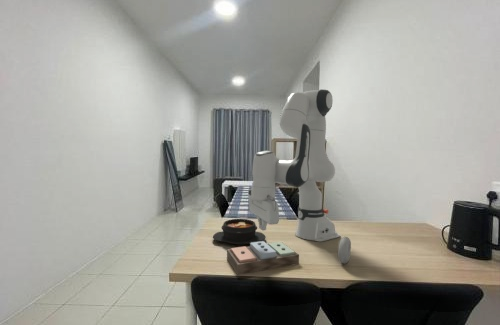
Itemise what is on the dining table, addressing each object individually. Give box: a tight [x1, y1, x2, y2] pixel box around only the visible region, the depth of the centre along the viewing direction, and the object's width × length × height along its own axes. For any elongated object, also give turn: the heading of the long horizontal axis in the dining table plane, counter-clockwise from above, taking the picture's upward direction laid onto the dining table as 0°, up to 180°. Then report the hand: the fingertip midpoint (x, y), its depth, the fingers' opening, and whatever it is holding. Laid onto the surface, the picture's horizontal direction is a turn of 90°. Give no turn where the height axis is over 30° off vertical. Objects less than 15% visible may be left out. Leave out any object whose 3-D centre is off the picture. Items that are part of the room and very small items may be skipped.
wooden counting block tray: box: [226, 241, 300, 275], centre depth 93 cm, size 24×13×4 cm, turn 111°
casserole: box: [212, 218, 266, 245], centre depth 114 cm, size 25×19×8 cm
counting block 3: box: [267, 241, 296, 257], centre depth 96 cm, size 6×11×4 cm, turn 21°
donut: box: [337, 236, 352, 265], centre depth 93 cm, size 10×4×10 cm, turn 148°
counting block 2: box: [249, 240, 276, 260], centre depth 93 cm, size 6×11×4 cm, turn 21°
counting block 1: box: [230, 246, 256, 263], centre depth 90 cm, size 6×11×4 cm, turn 21°
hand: (262, 229), depth 92 cm, fingers closed
